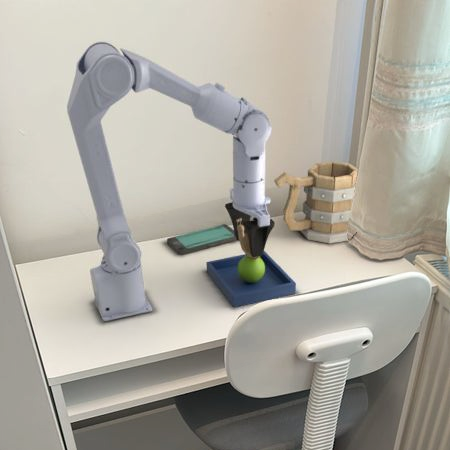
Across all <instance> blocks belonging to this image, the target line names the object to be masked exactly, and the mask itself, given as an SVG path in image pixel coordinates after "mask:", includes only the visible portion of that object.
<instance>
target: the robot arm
mask: <svg viewBox="0 0 450 450" xmlns="http://www.w3.org/2000/svg"><path fill="white" fill-rule="evenodd" d="M119 50H120V51H121V52H122V54H121V52H119ZM119 50H118V49H117V47H116V46H114V45H113V44H111V43H110V42H106V41H96V42H94V43H92V44H91V45H89V46H88V47H87V48H86V49H85V51H84V53H82V55H81V56H80V58H78V60H77V62H76V68H75V75H74V79H73V83H72V86H71V90H70V94H69V97H68V101H67V104H66V111H67V116H68V119H69V123H70V126H71V130H72V134H73V137H74V140H75V144H76V148H77V150H78V154H79V157H80V161H81V164H82V168H83V171H84V175H85V178H86V182H87V185H88V190H89V193H90V197H91V200H92V203H93V207H94V211H95V213H96V221H97V225H98V229H97V234H96V240H97V243H98V245H99V246H100V248H101V251H102V253H103V255H102V258H101V261H100V264H99V265H98V266H96V267H93V268H90V270H89V272H90V279H91V284H92V285H91V286H92V291H93V295H94V296H93V297H94V298H93V299H94V303H95V307H96V308H97V310H98V313H99V314H100V317H101V319H102V321H103V322H109V321H113V320H118V319H122V318H126V317H131V316H136V315H140V314H141V315H142V314H145V313H149V312H152V311H153V307H152V305H151V303H150V302H149V300H148V298H147V296H146V291H145V284H144V275H143V267H142V260H141V259H142V251H141V248H140V246H139V244H137V242H136V240H135V238H134V237H133V234H132V231H131V229H130V227H129V224H128V222H127V219H126V216H125V212H124V208H123V204H122V200H121V196H120V192H119V189H118V184H117V181H116V177H115V172H114V169H113V165H112V161H111V157H110V152H109V149H108V144H107V141H106V137H105V133H104V129H103V125H102V120H103V118H104V117H105V116H106V114H107V113H108V111H109V110H110V108H111V107H112V106H113V105H115V104H116V103H118V102H119V101H121V99H123V98H125V96H127V95H128V94H129V93H130V91H131V90H132V91H133V92H134V93H135V94H137V93H140V92H143V91H146V90H149V89H151V90H153V91H156V92H158V93H159V94H161V95H164V96H167V97H169V98H171V99H173V100H176V101H177V102H180V103H183V104H184V105H186V106H189V107H190V108H191V110H192V114H193V117H194V118H195V119H196V120H198V121H201V122H202V123H204V124H206V125H209V126H210V127H213V128H215V129H217V130H219V131H220V132H223V133H225V134H229V135H230V134H231V135H232V181H233V182H232V185H233V186H232V187H231V188H229V199H230V200H232V201H231V202H228V203H226V204H224V208H225V209H226V211H227V213H228V215H229V218H230V221H231V224H232V227H233V228H232V229H233V230H234V233H235V236H236V239H237V240H236V241H237V242H240V241H239V235H238V230H237V227H238V225H240V221H239V222H237V221H236V220H237V219H240V218H241V219H242V220H241V225H243V226H244V235H245V234H246V233H247V235H248V239H249V247H250V253H251V256H252V257H258V256H262V255H263V252H264V251H265V248H266V244H267V241H268V239H269V237H270V234H271V232H272V230H273V229H274V228H275V225H276V221H274V220H273V219H272V218H271V214H270V213H269V211H268V207H267V204H270V203H271V198H270V197H269V196H267V195H266V142H267V141H268V140H269V138H270V137H271V133H272V126H271V124H270V120H269V118H268V116H267V115H266V113H265V112H264V111H262V110H261V109H259V108H258V107H256V105H254V104H252V103H251V102H250V101H249V99H247V98H245V97H243V96H241V97H240V98H239V97H238V96H235V95H233V94H231V93H229V92H228V91H226V90H225V89H226V87H225V86H224V85H222V84H221V83H219V82H215V84H212V83H209V82H207V83H204V84H202V85H199V86H198V85H196V84H193V83H192V82H190V81H188V80H187V79H185V78H183V77H181V76H179V75H178V74H175V73H173V72H172V71H170V70H168V69H166V68H165V67H163V66H162V65H160V64H158V63H156V62H154V61H152V60H151V59H149V58H147V57H145V56H143V55H140V54H137V53H135V52H132V51H130V50H127V49H124V48H122V47H119ZM251 218H252V220H251Z"/></svg>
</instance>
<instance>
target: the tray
mask: <svg viewBox="0 0 450 450" xmlns="http://www.w3.org/2000/svg"><path fill="white" fill-rule="evenodd" d="M245 256H247V255H246V254H245V253H244V254H240V255H235V256H234V255H233V256H229V257H224V258H219V259H214V260H209V261H206V262H205V264H206V273H207V274H208V276H209V277H210V278H211V279H212V281H213V282H214V283H215V285H216V286H217V287H218V289H219V290H220V291H221V293H222V294H223V296H224V297H225V298H226V299H227V300H228V302H229V303H230V305H232V307H233V308H237V307H242V306H246V305H250V304H255V303H259V302H260V303H261V302H264V301H269V300H274V299H278V298H283V297H286V296H291V295H296V290H297V289H296V287H297V283H296V282H295V280H294V279H292V277H291V276H290V275H288V274H287V272H286V271H284V269H283V268H282V267H281V266H280V265H279V264H278V263H277V262H276V261H275V260H274V259H273V258H272V257H271V256H270V255H269V253H267V252H266V251H265V250H264V252H263V255H262V256H260V258H261V259H262V261H263V262H264V265H265V273H264V275H263V277H262V278H261V279H260V280H259V281H257V282H254V283H249V282H245V281H244V280H242V279H241V278H240V276H239V274H238V264H239V262H240V260H241V259H242V258H243V257H245Z"/></svg>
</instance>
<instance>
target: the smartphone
mask: <svg viewBox="0 0 450 450" xmlns="http://www.w3.org/2000/svg"><path fill="white" fill-rule="evenodd" d="M235 241H237V239H236V236H235V233H234V228H231V226H229V225H228V224H227V223H223V224H219V225H215V226H211V227H207V228H203V229H199V230H196V231H191V232H188V233H185V234H180V235H175V236H171V237H168V238H167V239H166V244H167V245H168V246H169V247H170V249H172V250H173V251H174V252H175V253H176V254H177V255H179V256H183V255H187V254H190V253H194V252H197V251H201V250H205V249H209V248H212V247H216V246H220V245H224V244H228V243H231V242H235Z"/></svg>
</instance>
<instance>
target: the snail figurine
mask: <svg viewBox="0 0 450 450" xmlns="http://www.w3.org/2000/svg"><path fill="white" fill-rule="evenodd" d="M241 220H242V219H241V218H240V219H237V220H236V221H237V222H239V221H240V225H238V227H237V230H238V235H239V241H238V242H239V245H240V248H241V250H242V252H243V253H244V254H246V255H247V256H245V257H243V258H242V259H241V260H240V262H239V264H238V274H239V276H240V278H241V279H242V280H244V281H245V282H249V283H254V282H257V281H259V280H260V279H261V278H262V277H263V275H264V273H265V265H264V262H263V261H262V259H261V258H260V256H258V257H252V256H251V253H250V247H249V239H248V235H247V233H246V234H245V235H244V226H243V225H241Z"/></svg>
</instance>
